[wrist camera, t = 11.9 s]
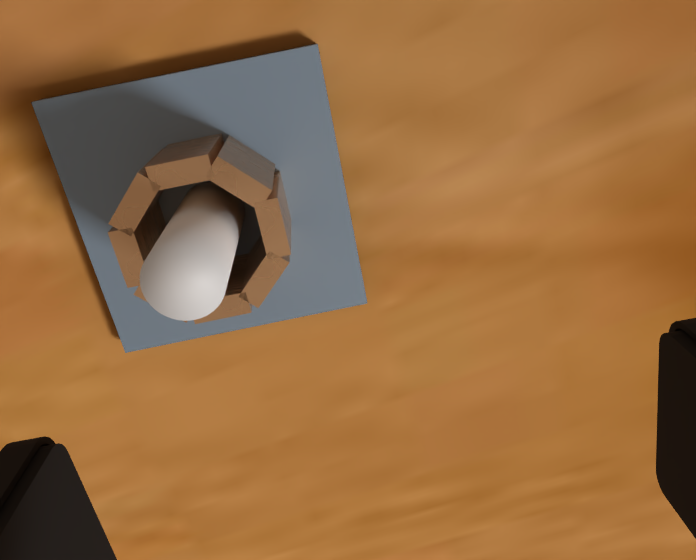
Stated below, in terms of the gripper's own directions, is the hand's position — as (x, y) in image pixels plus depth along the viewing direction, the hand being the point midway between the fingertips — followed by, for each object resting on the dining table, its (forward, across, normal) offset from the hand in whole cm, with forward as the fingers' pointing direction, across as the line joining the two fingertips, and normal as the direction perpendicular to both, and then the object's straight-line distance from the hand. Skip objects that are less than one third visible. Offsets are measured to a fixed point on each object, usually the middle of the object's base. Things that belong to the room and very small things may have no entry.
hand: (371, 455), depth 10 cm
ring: (+22, +6, +1) cm, 22 cm away
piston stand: (+22, +6, +2) cm, 23 cm away
